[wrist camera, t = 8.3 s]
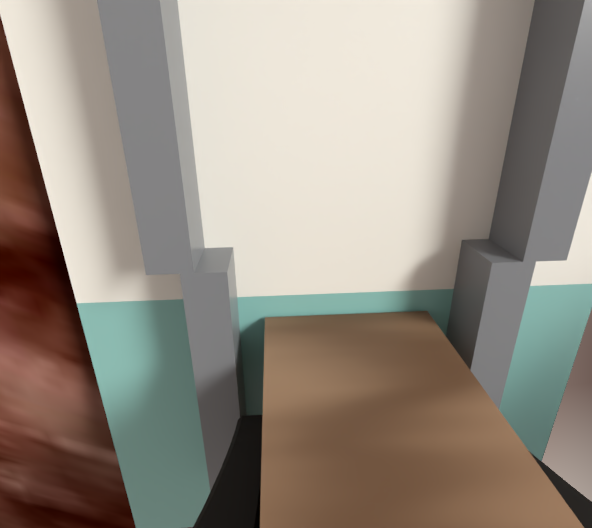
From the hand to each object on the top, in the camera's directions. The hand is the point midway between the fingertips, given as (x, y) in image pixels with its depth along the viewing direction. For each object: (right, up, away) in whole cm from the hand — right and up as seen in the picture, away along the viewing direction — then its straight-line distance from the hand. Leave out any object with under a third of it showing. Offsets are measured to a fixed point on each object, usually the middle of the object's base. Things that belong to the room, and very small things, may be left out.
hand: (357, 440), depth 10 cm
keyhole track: (0, +5, +1) cm, 5 cm away
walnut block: (0, +1, +2) cm, 2 cm away
